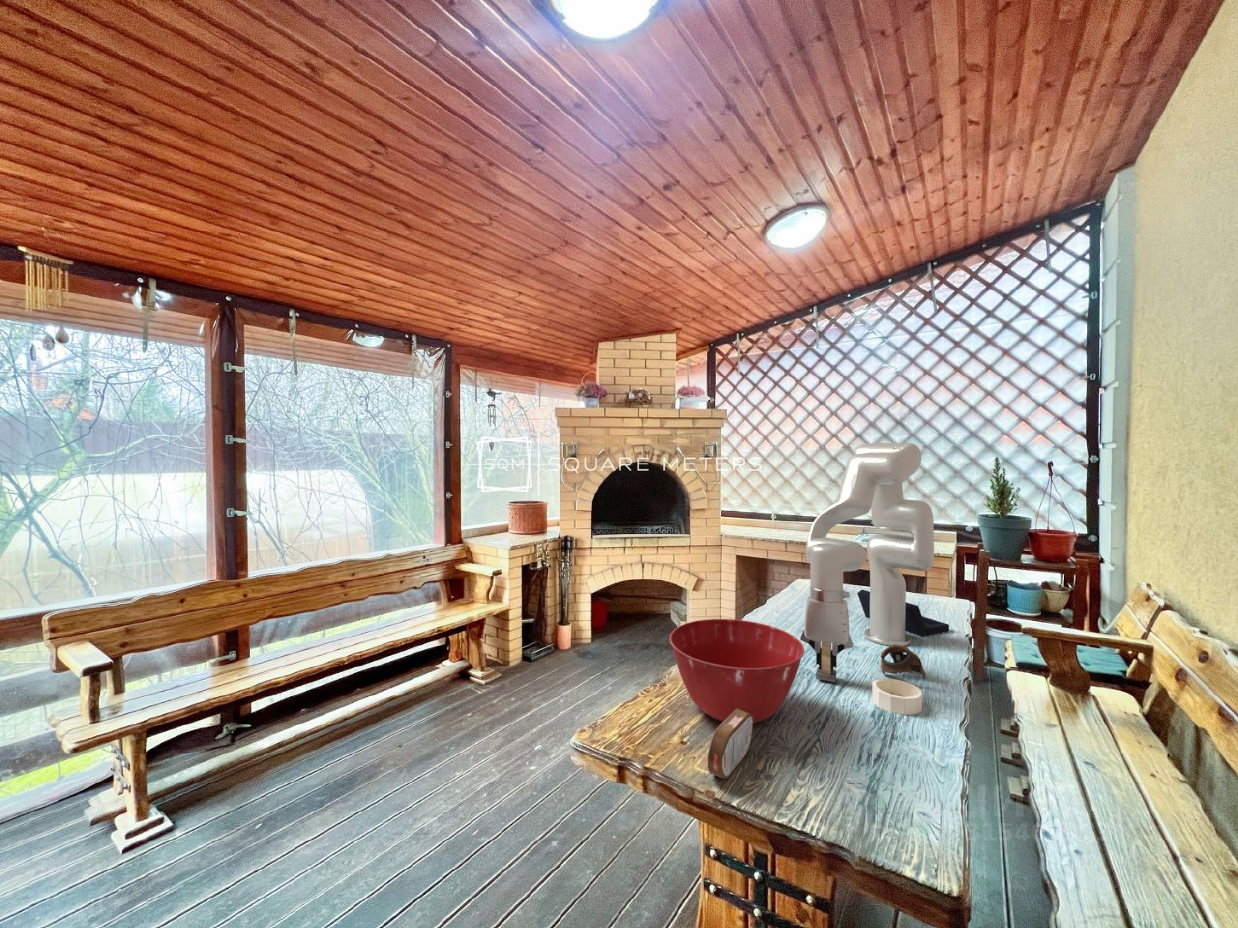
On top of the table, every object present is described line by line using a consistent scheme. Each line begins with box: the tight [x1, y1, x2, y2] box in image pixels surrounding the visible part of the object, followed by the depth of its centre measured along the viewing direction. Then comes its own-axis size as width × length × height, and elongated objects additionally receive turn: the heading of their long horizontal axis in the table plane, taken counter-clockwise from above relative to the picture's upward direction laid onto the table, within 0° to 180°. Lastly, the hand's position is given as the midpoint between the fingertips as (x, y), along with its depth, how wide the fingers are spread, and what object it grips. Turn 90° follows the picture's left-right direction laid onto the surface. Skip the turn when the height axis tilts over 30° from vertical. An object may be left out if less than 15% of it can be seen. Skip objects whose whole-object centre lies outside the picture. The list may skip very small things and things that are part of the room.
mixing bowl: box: [669, 618, 805, 725], centre depth 111 cm, size 28×28×16 cm
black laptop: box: [857, 589, 950, 638], centre depth 166 cm, size 21×16×10 cm
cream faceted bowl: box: [871, 678, 923, 716], centre depth 114 cm, size 10×10×4 cm
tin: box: [707, 708, 754, 780], centre depth 91 cm, size 15×3×8 cm, turn 144°
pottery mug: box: [880, 644, 926, 680], centre depth 129 cm, size 12×9×8 cm
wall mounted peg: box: [815, 641, 837, 683], centre depth 126 cm, size 4×4×10 cm
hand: (826, 667), depth 126 cm, fingers closed on wall mounted peg, 2 cm apart
